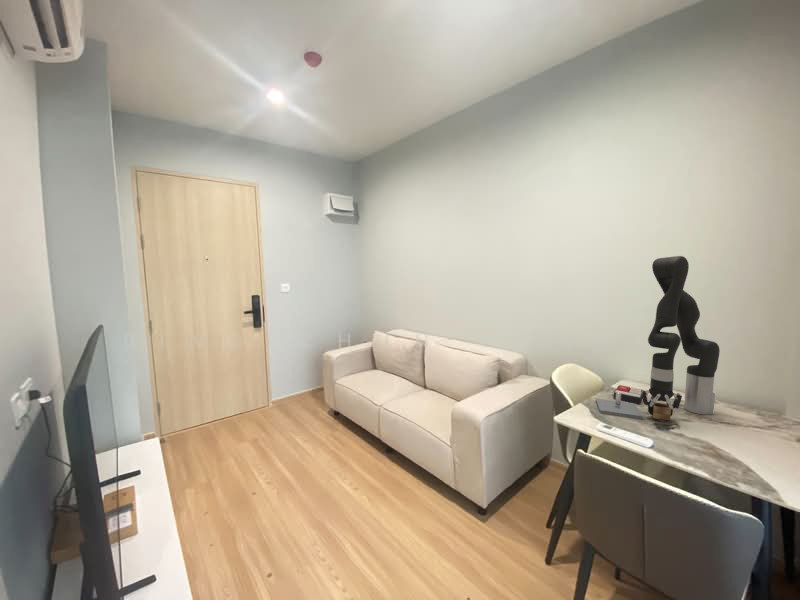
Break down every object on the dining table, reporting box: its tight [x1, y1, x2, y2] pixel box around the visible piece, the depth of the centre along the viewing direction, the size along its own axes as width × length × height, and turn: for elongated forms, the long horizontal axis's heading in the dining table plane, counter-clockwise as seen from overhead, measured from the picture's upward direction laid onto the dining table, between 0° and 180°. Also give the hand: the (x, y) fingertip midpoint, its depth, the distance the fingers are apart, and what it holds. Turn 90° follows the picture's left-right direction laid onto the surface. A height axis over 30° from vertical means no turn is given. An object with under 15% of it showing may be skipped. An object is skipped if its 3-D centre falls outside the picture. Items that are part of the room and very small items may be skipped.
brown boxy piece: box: [651, 402, 671, 421], centre depth 139 cm, size 6×6×5 cm
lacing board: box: [595, 398, 644, 420], centre depth 150 cm, size 16×14×2 cm
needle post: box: [615, 392, 622, 406], centre depth 149 cm, size 2×2×6 cm
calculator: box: [613, 384, 643, 406], centre depth 164 cm, size 11×4×15 cm
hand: (659, 415), depth 140 cm, fingers closed on brown boxy piece, 5 cm apart
